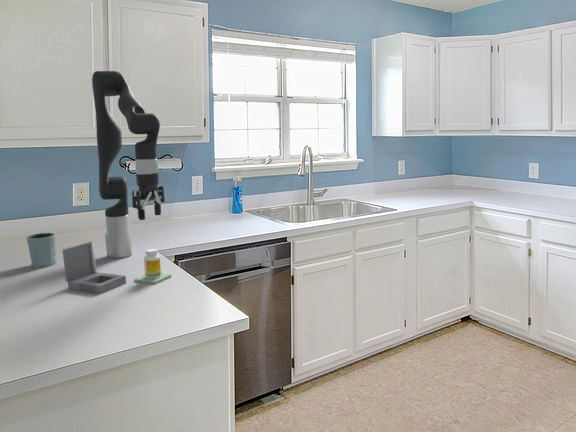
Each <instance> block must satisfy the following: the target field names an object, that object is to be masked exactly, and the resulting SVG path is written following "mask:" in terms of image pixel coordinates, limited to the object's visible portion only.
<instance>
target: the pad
mask: <svg viewBox="0 0 576 432" xmlns="http://www.w3.org/2000/svg"><path fill="white" fill-rule="evenodd" d="M169 278H172V274H169V273H162V272H161V276H160V277H158V278H146V277H145V274H144V275H141V276H138V277H136V278H134V282H136V283H144V284H154V285H157V284H159V283H161V282H163V281H165V280H167V279H169Z"/></svg>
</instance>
